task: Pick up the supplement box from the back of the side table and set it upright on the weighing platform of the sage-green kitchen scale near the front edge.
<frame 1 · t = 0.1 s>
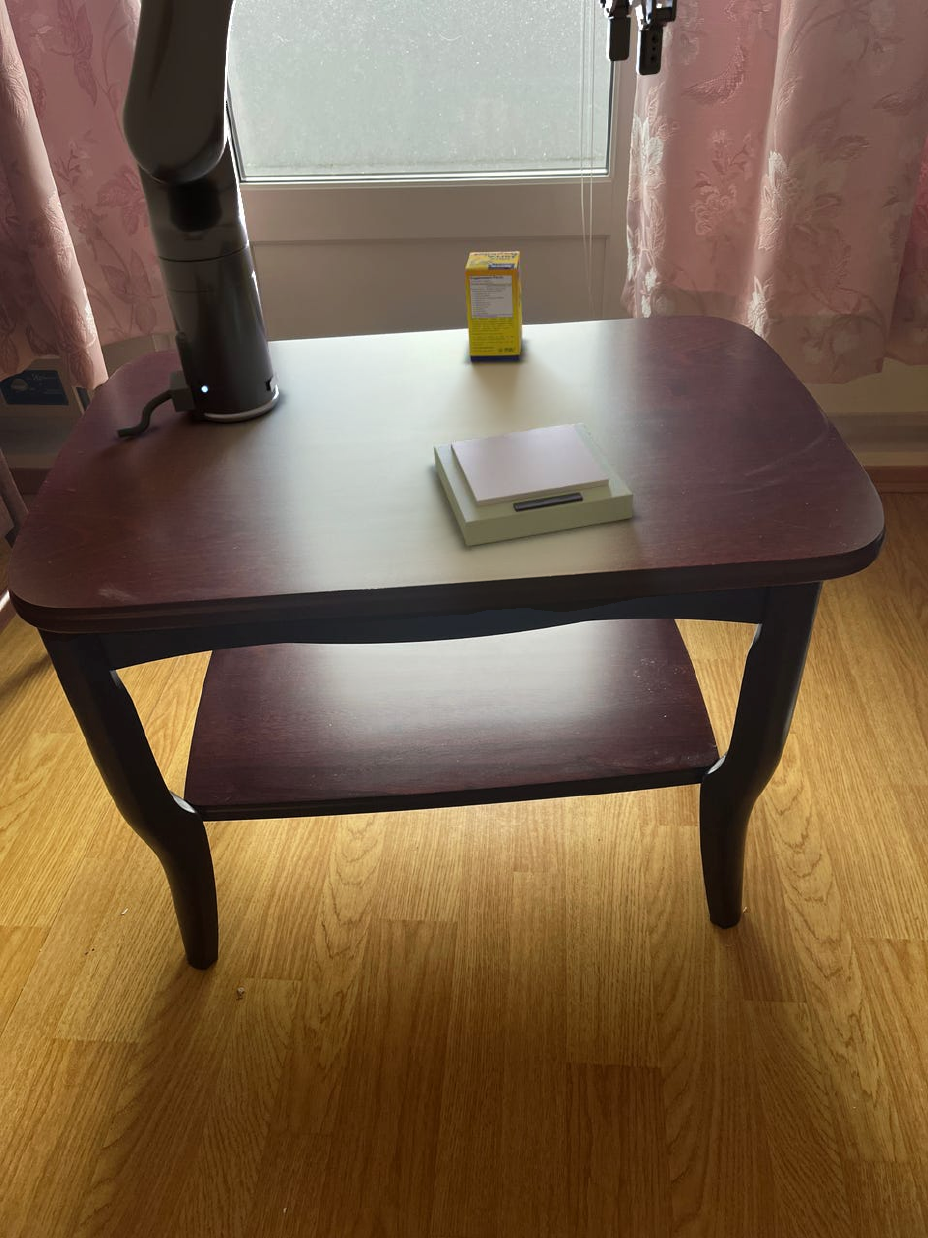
hand: (632, 66, 94), 29 cm above the table, tool pointing down, fingers open, 8 cm apart
scale: (528, 492, 89), on the table
supplement box: (496, 353, 114), on the table
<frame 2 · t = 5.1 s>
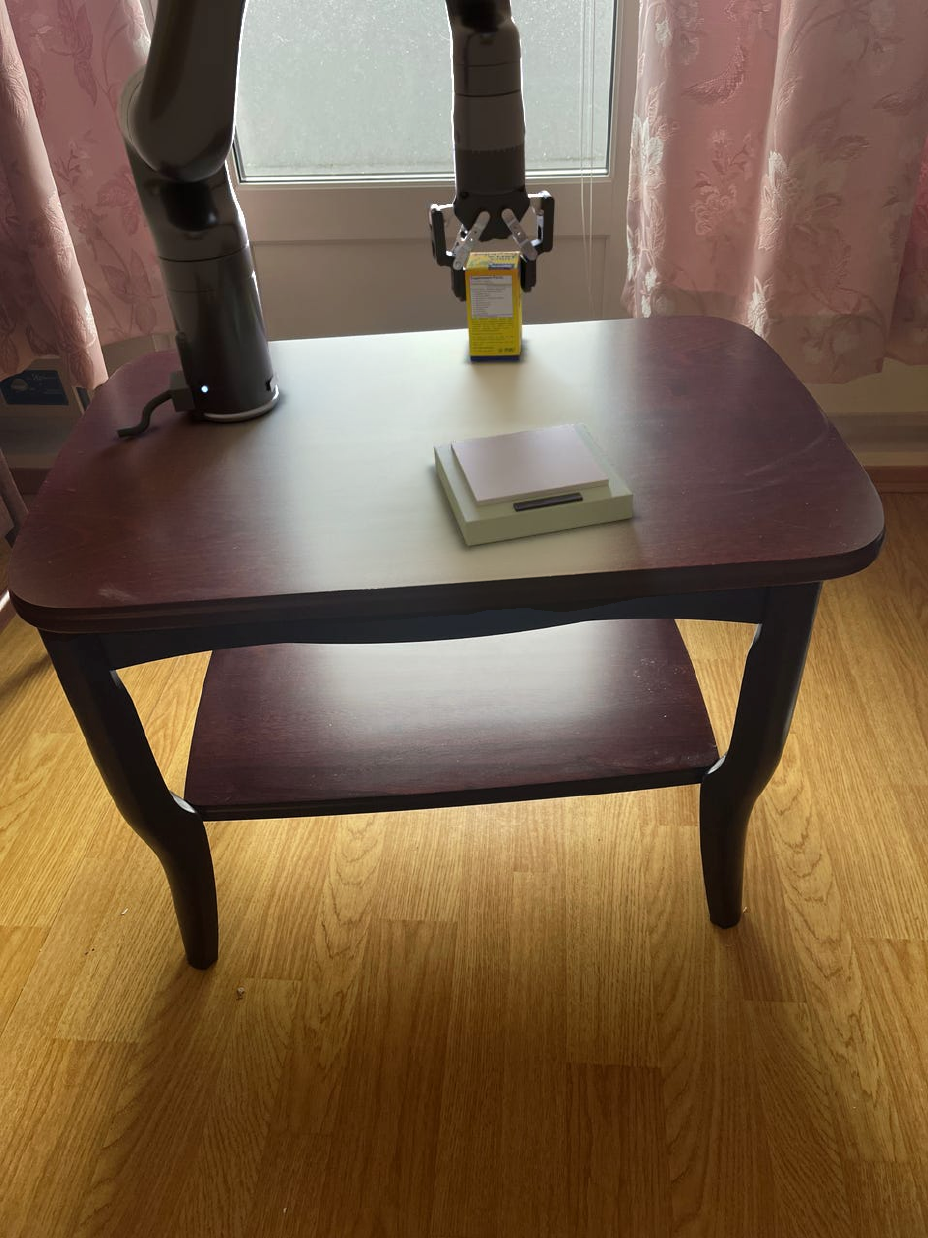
hand: (494, 294, 109), 7 cm above the table, tool pointing down, fingers closed on supplement box, 7 cm apart
supplement box: (496, 353, 114), on the table, touching gripper
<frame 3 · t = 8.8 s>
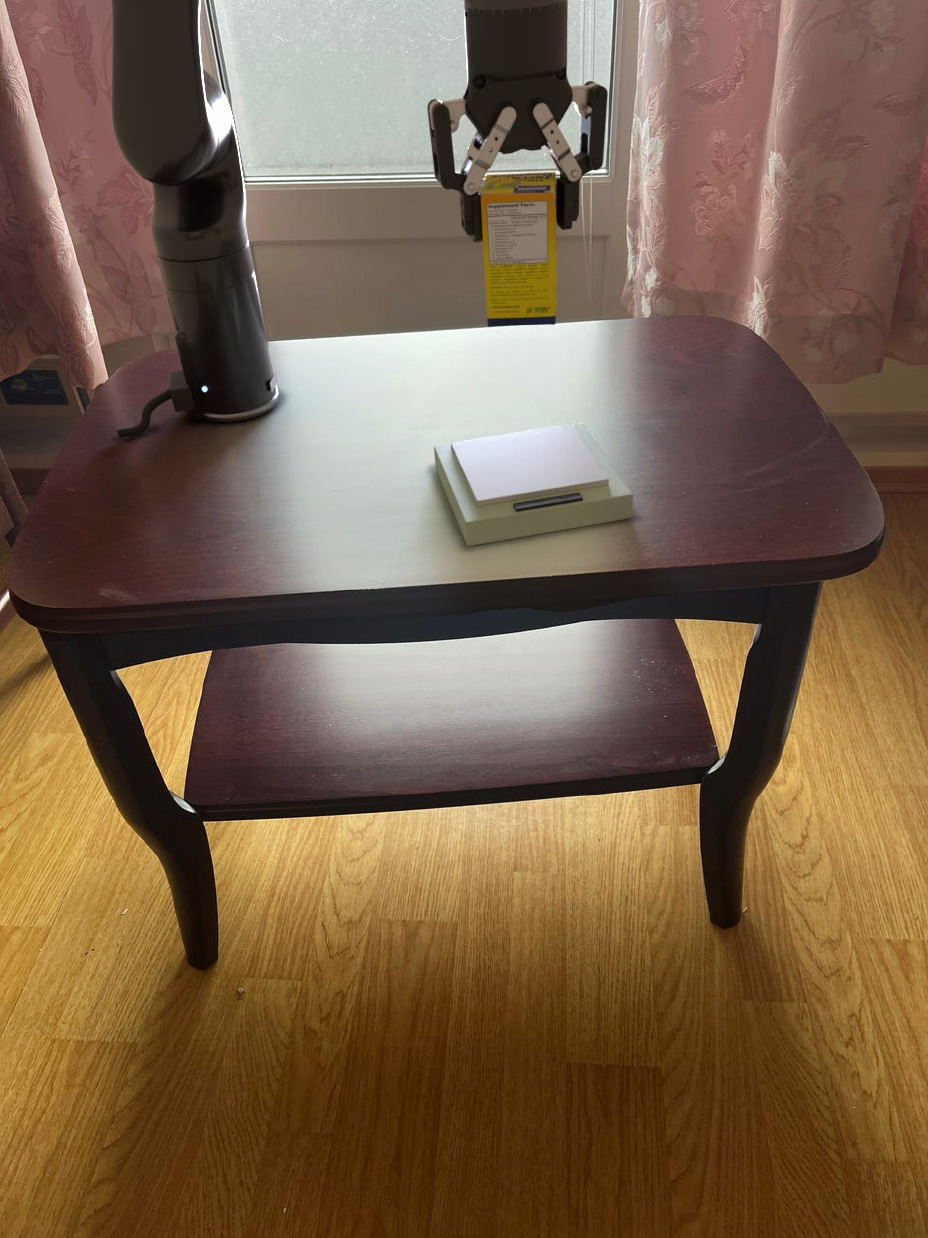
hand: (520, 232, 79), 22 cm above the table, tool pointing down, fingers closed on supplement box, 7 cm apart
supplement box: (522, 316, 83), point 15 cm above the table, touching gripper
when the fingers open (10 cm above the table, at t = 12.5 s): supplement box stays where it is, resting on scale.
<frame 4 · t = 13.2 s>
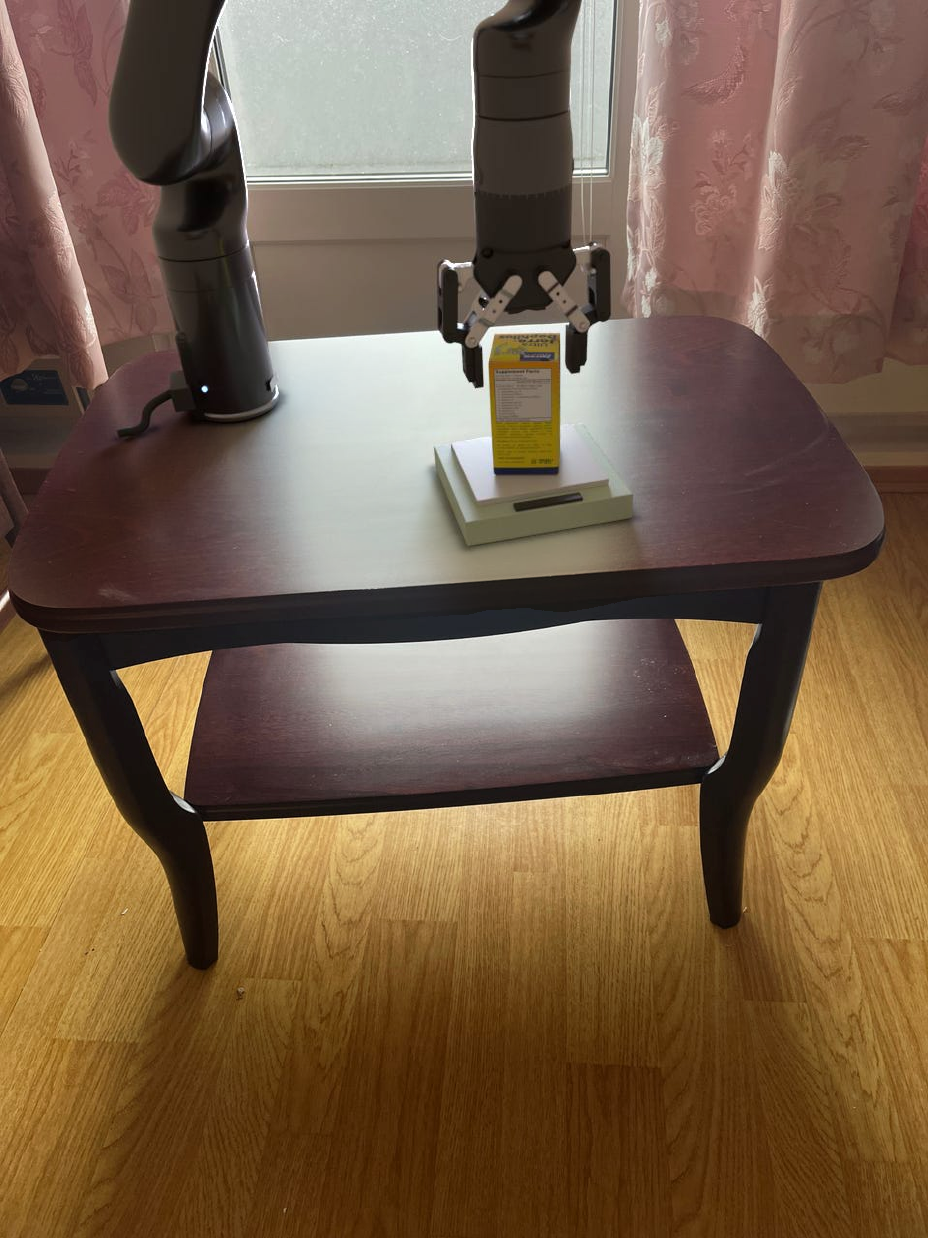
hand: (524, 377, 82), 11 cm above the table, tool pointing down, fingers open, 8 cm apart
supplement box: (527, 461, 87), point 3 cm above the table, touching scale
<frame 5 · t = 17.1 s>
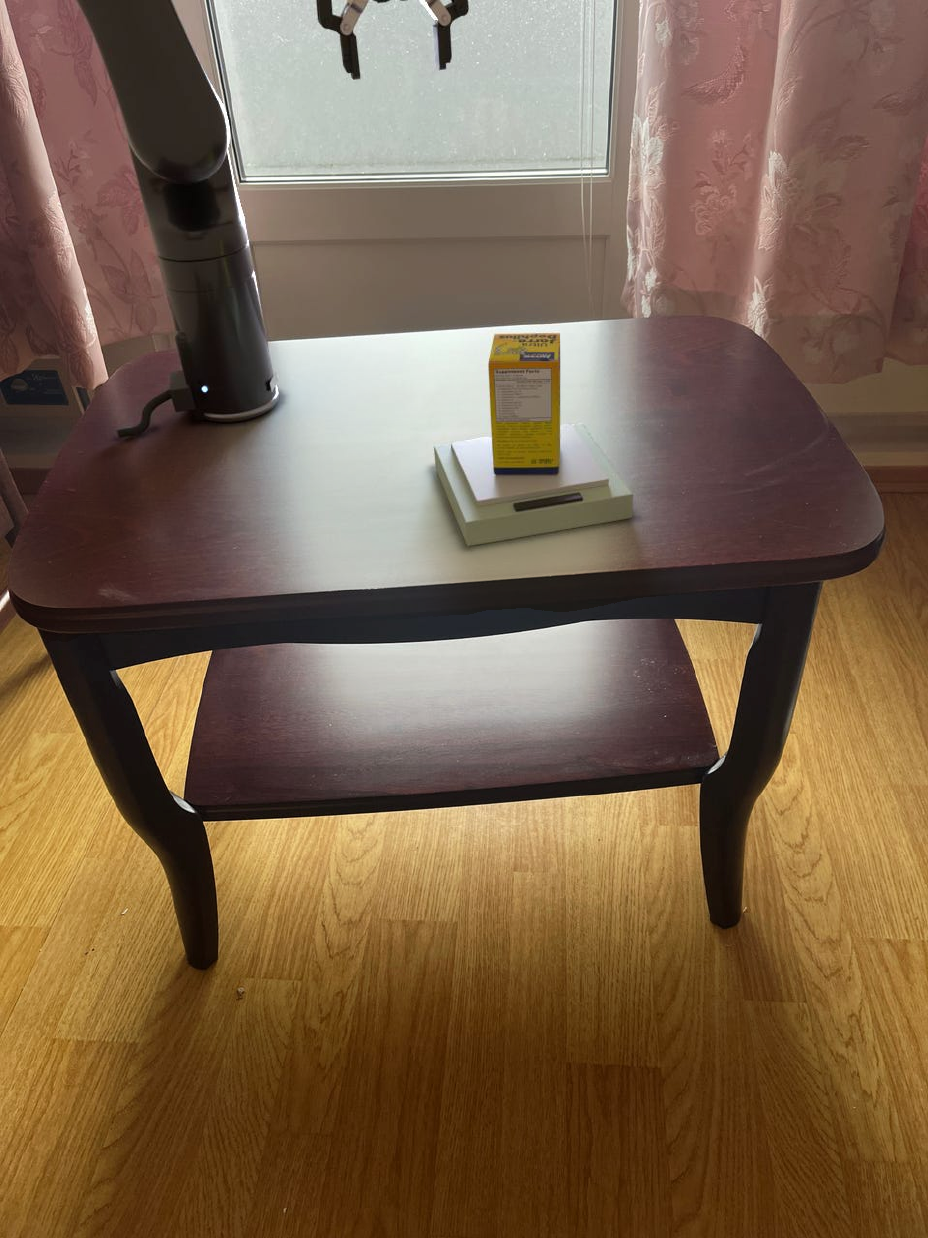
hand: (398, 73, 94), 30 cm above the table, tool pointing down, fingers open, 8 cm apart
nothing on the table moved.
at the end: supplement box inside the target area on the scale (0.2 cm from its centre), point 2.9 cm above the scale's base; supplement box tilted 0°; the gripper is holding nothing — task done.
